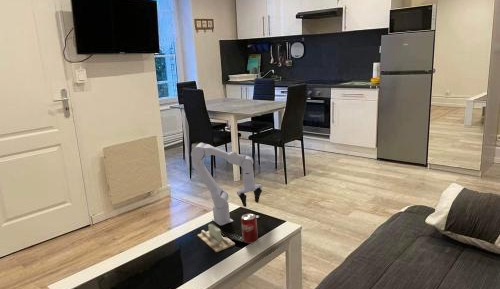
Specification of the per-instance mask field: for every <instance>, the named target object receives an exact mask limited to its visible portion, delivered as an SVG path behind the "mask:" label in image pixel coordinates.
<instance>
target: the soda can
mask: <svg viewBox="0 0 500 289" xmlns="http://www.w3.org/2000/svg"><path fill="white" fill-rule="evenodd" d="M257 221H258V220H257V215H256V214H253V213H246V214H242V216H241V217H240V223H241V224H240V225H241V234H242V236H241V237H242V241H243V242H244V243H247V244H253V243H256V242H257V241H258V240H259V235H258V222H257Z"/></svg>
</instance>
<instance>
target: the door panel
mask: <svg viewBox="0 0 500 289" xmlns="http://www.w3.org/2000/svg"><path fill="white" fill-rule="evenodd" d="M207 225H208V231H209V235H210V236H211V237H213V238H214V239H215V240H216V241H218V242H222V238H221V233H222V230H221V229H220V228H219V227H218V226H216V225H215V224H214V223H209V224H207Z"/></svg>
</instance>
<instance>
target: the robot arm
mask: <svg viewBox="0 0 500 289" xmlns="http://www.w3.org/2000/svg"><path fill="white" fill-rule="evenodd" d="M190 156H191V164H192V167H193V168H194V170H195V172H196V173H197V174H198V176H199V178H200V180H201V181H202V182H203V184H204V185H205V187H206V188H207V189H208V191H209V193H210V196H211V199H212V201H213V207H212V213H213V214H212V215H213V218H212V221H213V222H214V223H216V224H217V225H219V226H224V225H227V224H230V223H233V222H234V220H233V219H232V218H231V214H230V204H229V202H228V199H229V194H228V192H226V191H225V190H224V189H223V188H222V187H221V186H219V185H218V183H217V182H216V181H215V179H214V177H213V176H212V174H211V173H210V171H209V170H208V168H207V167H206V165H205V163H204V160H205V157H208V156H216V157H219V158H222V159H225V160H226V161H227V163H229V164H233V165H235V166H238V167H241V169H242V180H243V187H242V188H241V189H238V190H236V195H237V196H238V197H239V199H240V201H241V202H242V203H241V204H242V206H243V207H244V208H246V207H247V194H246V193H248V192H253V194H254V202H255V203H256V204H259V201H260V196H261V194H262V193H263V189H262V188H263V184H261V183H258V184H256V183H255V173H254V158H253V157H252V156H250V155H246V154H239V153H238V152H237V151H230V152H227V151H224V150H223V149H220V148H218V147H215V146H213V145H211V144H208V143H204V142H199V143H197V145H196V146H194V147H193V148H192V150H191V152H190Z"/></svg>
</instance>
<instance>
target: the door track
mask: <svg viewBox="0 0 500 289" xmlns="http://www.w3.org/2000/svg"><path fill="white" fill-rule="evenodd" d="M197 237H198V238H199V240H202V241H203V242H204V243H205V244H206V245H208V247H210V249H212V250H213V251H214V252H215V253H218V252H221V251H223V250H226V249H228V248H230V247H233V246H235V245H236V243H235V242H234V241H232V239H230V238H228V237H227V236H226V237H223V236H222V235H221V238H222V242H218V241H216V240H215V239H214V238H213V237H211V236H210V235H209V230H207V231H205V230H204V229H202V230H201V232H200V233H198V234H197Z"/></svg>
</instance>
